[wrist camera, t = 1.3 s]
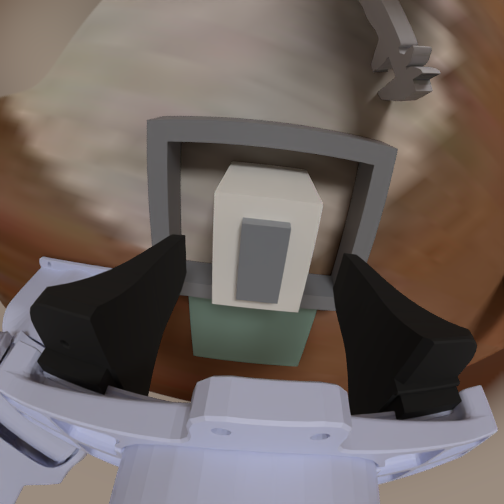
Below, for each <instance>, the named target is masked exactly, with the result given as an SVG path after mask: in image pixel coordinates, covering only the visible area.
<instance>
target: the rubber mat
mask: <svg viewBox="0 0 504 504" xmlns="http://www.w3.org/2000/svg"><path fill="white" fill-rule="evenodd" d="M189 309H190V322H191V334H192V345H193V355H194V356H199V357H206V358H213V359H221V360H229V361H238V362H247V363H257V364H269V365H283V366H298V364H299V361H300V358H301V355H302V353H303V350H304V347H305V344H306V341H307V338H308V335H309V332H310V329H311V326H312V323H313V320H314V317H315V314H316V311H317V309H304V308H299V311H298V312H286V311H275V310H265V309H255V308H245V307H236V306H227V305H219V304H212V299H207V298H199V297H192V296H189Z"/></svg>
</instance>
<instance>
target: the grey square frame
mask: <svg viewBox="0 0 504 504" xmlns="http://www.w3.org/2000/svg"><path fill="white" fill-rule="evenodd" d="M181 142H205V143H222V144H236V145H248V146H258V147H268V148H276V149H284V150H292V151H299V152H306V153H313V154H319V155H325V156H331V157H337V158H342V159H347V160H352V161H357V162H359V166H358V171H357V176H356V181H355V185H354V190H353V194H352V198H351V203H350V207H349V211H348V215H347V219H346V223H345V227H344V231H343V235H342V239H341V243H340V246H339V250H338V254H337V257H336V261H335V264H334V268H333V271H332V274H331V276H328V275H318V274H308V276H307V280H306V284H305V288H304V292H303V296H302V300H301V303H300V307H299V308H304V309H317V310H331V311H336V309H335V303H334V294H333V287H334V284H335V281H336V277H337V274H338V271H339V268H340V264H341V261H342V258H343V254H344V253H348V254H356V255H358V256H359V257H360V258H361V259H363V260H364V261H365V262H366V263H367V260H368V257H369V254H370V251H371V248H372V245H373V242H374V239H375V235H376V232H377V229H378V225H379V222H380V219H381V215H382V212H383V208H384V204H385V201H386V197H387V193H388V189H389V185H390V181H391V177H392V173H393V169H394V164H395V160H396V155H397V150H398V149H397V148H395V147H393V146H390V145H388V144H386V143H384V142H382V141H378V140H374V139H370V138H366V137H361V136H357V135H352V134H347V133H343V132H338V131H332V130H327V129H321V128H315V127H309V126H303V125H296V124H289V123H281V122H273V121H263V120H253V119H241V118H226V117H202V116H163V117H158V118H154V119H149V120H147V174H148V196H149V212H150V225H151V237H152V246H154V245H155V244H157V243H158V242H160V241H162V240H163V239H165V238H166V237H168V236H170V235H172V234H176V235H181V203H180V160H181ZM186 270H187V273H186V277H185V280H184V284H183V287H182V290H181V293H180V295H184V296H192V297H199V298H207V299H212V263H204V262H195V261H187V260H186Z"/></svg>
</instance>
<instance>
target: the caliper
mask: <svg viewBox="0 0 504 504" xmlns="http://www.w3.org/2000/svg"><path fill="white" fill-rule="evenodd" d="M358 1H359V2H360V4H361V5H362V7H363V9H364V12H365V15H366V17H367V19H368V20H369V22H370V24H371V25H372V27H373V28H375V30H376V33H377V35H378V38H379V40H378V43H377V47H376V50H375V53H374V56H373V59H372V63H371V66H372V70H373V72H385V71H388V70H389V69H392V68H393V71H394V73H395V76H396V77H395V78H394V79H393V80H392V81H391V82H389V83H388V84H387V85H386V86H385V87H384V88H383V89H381V90H380V91H378V94H379V97H380V98H381V99H382V100H393V101H409V100H417V99H419V98H421V97H423V96H424V95H426V94H428V93H430V92H432V87H431V83H430V79H431V78H433V77H435V76H437V75H439V74H440V71H439V70H437V69H435V68H432V67H423V66H424V65H426V63H427V62H428V60H429V57H430V54H431V51H432V47H430V46H418V43H417V40H416V37H415V35H414V32H413V30H412V28H411V25H410V23H409V21H408V19H407V17H406V15H405V13H404V11H403V8H402V6H401V5H400V3H399V1H398V0H358Z"/></svg>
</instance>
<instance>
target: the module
mask: <svg viewBox="0 0 504 504" xmlns="http://www.w3.org/2000/svg"><path fill="white" fill-rule="evenodd" d="M322 209H323V203H322V201H321V198H320V196H319V194H318V192H317V190H316V188H315V186H314V184H313V182H312V180H311V178H310V176H309V174H308V172H307V170H305V169H298V168H291V167H283V166H275V165H266V164H257V163H246V162H235V161H232V163H231V164H230V166H229V168H228V170H227V171H226V173H225V175H224V176H223V178H222V180H221V182H220V184H219V185H218V187H217V189H216V191H215V194H214V221H213V261H212V304H219V305H227V306H236V307H245V308H255V309H265V310H275V311H286V312H298V311H299V307H300V303H301V300H302V296H303V292H304V288H305V284H306V280H307V276H308V272H309V267H310V263H311V259H312V255H313V250H314V246H315V242H316V237H317V233H318V228H319V223H320V219H321V214H322Z"/></svg>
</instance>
